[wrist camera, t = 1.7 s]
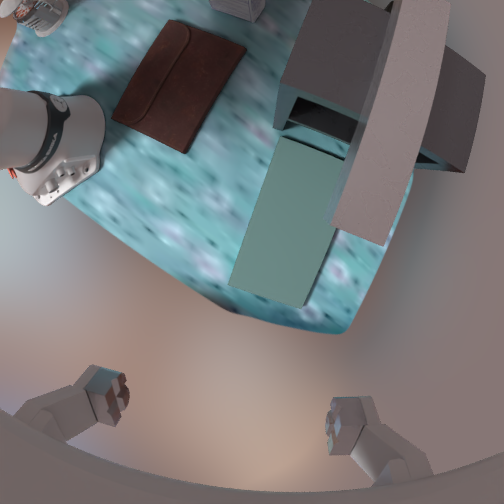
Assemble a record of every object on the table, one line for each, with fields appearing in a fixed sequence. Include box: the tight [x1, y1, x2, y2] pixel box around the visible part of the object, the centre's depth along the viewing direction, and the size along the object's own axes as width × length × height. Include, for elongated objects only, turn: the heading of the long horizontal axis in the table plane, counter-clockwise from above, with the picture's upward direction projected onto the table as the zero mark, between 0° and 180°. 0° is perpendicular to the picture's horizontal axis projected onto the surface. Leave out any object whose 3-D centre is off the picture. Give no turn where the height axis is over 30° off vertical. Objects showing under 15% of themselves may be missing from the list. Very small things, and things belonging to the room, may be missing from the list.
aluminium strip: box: [323, 0, 451, 246], centre depth 17 cm, size 21×4×2 cm, turn 161°
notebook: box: [111, 20, 247, 154], centre depth 41 cm, size 15×20×2 cm
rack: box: [273, 0, 486, 173], centre depth 30 cm, size 10×16×26 cm, turn 71°
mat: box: [228, 136, 344, 309], centre depth 47 cm, size 25×13×1 cm, turn 161°
